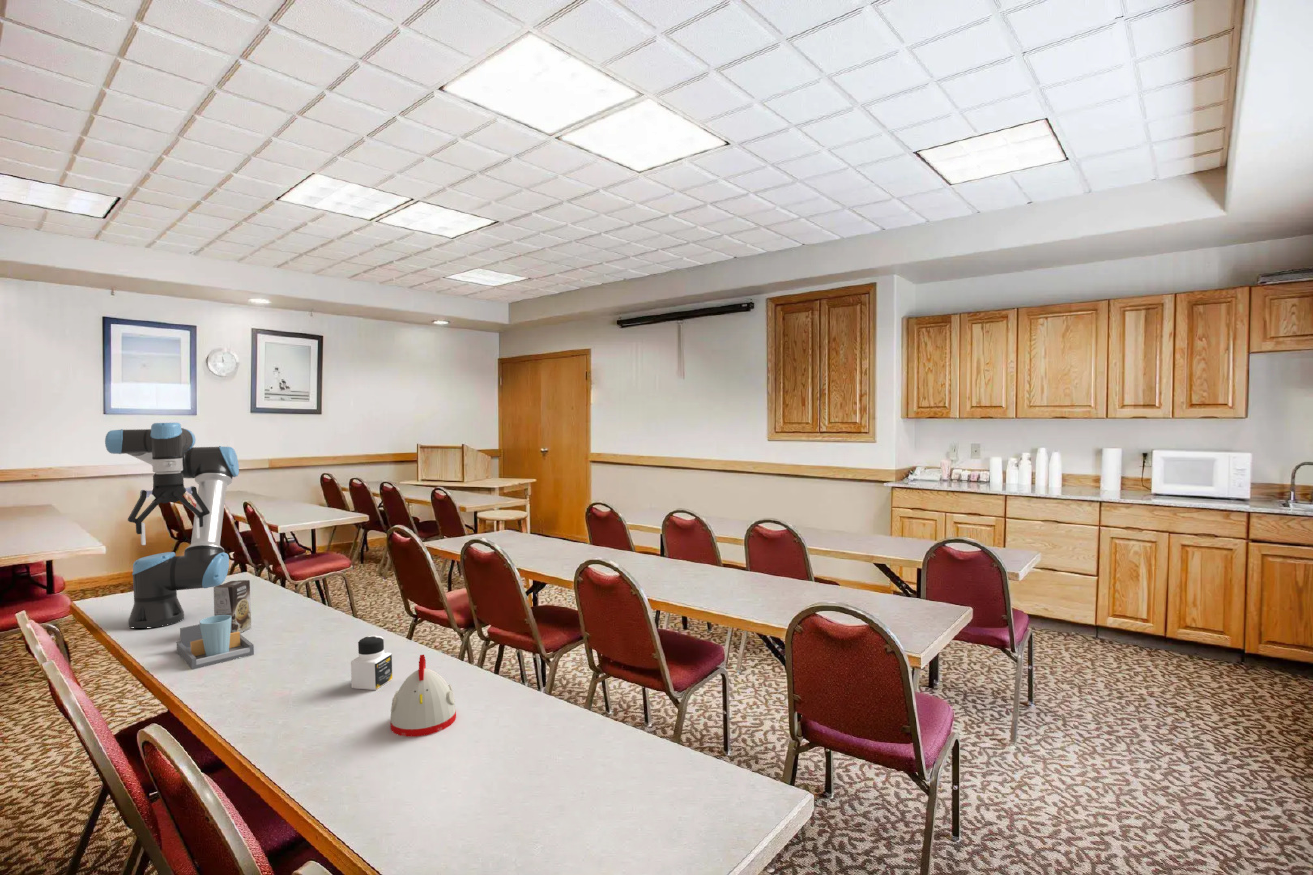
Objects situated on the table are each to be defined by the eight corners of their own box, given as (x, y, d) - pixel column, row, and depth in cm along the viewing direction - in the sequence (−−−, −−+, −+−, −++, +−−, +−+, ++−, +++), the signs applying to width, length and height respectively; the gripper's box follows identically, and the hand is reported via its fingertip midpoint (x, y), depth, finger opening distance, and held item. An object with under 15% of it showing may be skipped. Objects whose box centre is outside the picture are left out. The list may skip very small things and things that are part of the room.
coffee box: (234, 637, 207) (232, 586, 207) (214, 637, 208) (212, 587, 207) (252, 628, 216) (250, 579, 216) (233, 628, 217) (231, 579, 216)
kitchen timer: (386, 741, 139) (384, 671, 138) (394, 712, 152) (392, 649, 151) (455, 731, 142) (453, 663, 142) (456, 704, 156) (455, 642, 155)
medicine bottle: (376, 690, 164) (374, 643, 164) (351, 688, 166) (349, 642, 165) (393, 679, 171) (391, 634, 171) (368, 677, 173) (367, 632, 172)
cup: (234, 647, 194) (232, 612, 194) (232, 656, 188) (230, 620, 187) (203, 652, 191) (201, 617, 190) (200, 661, 184) (198, 625, 183)
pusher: (187, 651, 192) (186, 637, 192) (234, 640, 200) (233, 627, 200) (192, 656, 187) (191, 643, 187) (240, 645, 196) (239, 632, 196)
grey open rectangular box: (176, 652, 195) (175, 629, 194) (235, 639, 205) (234, 617, 205) (192, 669, 181) (191, 644, 180) (253, 654, 192) (252, 630, 191)
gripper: (117, 476, 190) (121, 549, 191) (218, 470, 208) (221, 536, 209) (114, 475, 195) (117, 545, 196) (212, 469, 213) (215, 533, 214)
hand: (171, 541), depth 202 cm, fingers open, 13 cm apart
